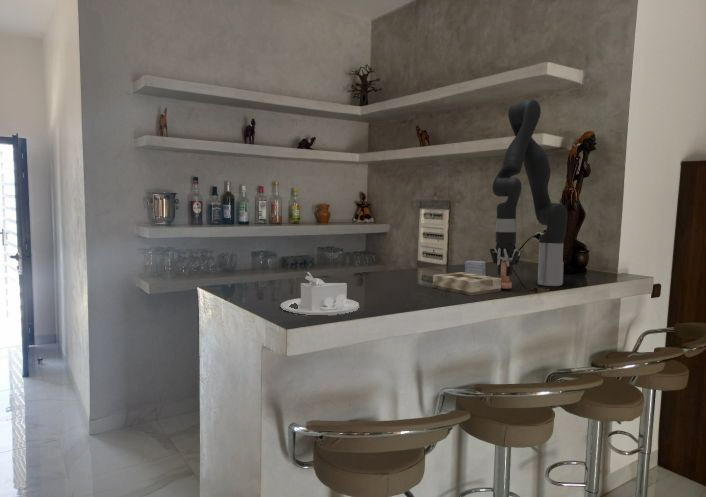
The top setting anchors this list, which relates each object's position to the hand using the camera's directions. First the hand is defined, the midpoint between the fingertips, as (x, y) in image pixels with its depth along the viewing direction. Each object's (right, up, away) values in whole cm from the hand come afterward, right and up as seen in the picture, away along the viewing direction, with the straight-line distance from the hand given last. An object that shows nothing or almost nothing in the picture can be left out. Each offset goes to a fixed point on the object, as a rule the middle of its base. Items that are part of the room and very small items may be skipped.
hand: (504, 275), depth 196 cm
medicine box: (-7, -4, +21) cm, 22 cm away
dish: (-69, -9, -34) cm, 77 cm away
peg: (0, -5, 0) cm, 5 cm away
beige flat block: (-15, -5, +1) cm, 16 cm away
